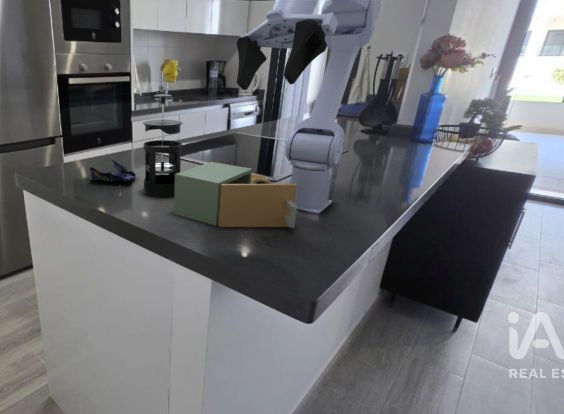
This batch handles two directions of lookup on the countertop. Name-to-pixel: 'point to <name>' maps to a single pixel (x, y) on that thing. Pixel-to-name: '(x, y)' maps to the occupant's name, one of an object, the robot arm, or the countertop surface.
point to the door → (257, 205)
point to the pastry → (259, 180)
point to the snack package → (117, 176)
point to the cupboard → (205, 189)
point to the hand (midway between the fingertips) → (263, 82)
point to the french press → (162, 183)
